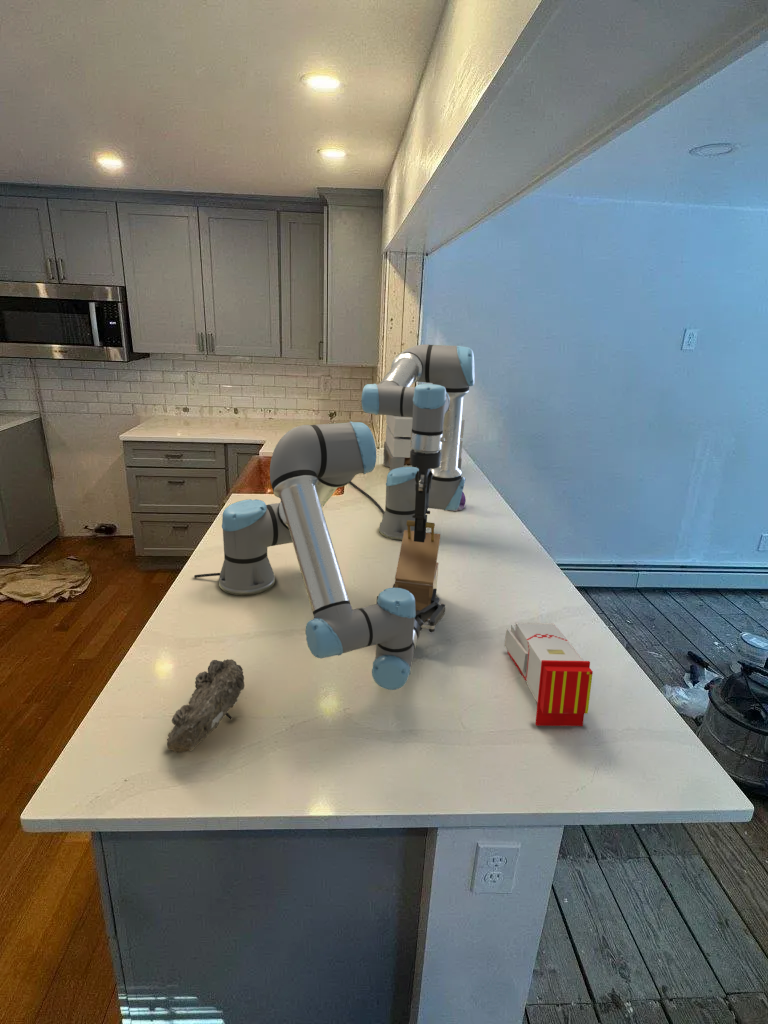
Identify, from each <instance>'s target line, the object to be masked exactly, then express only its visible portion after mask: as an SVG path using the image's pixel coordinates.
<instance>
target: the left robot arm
mask: <svg viewBox="0 0 768 1024" xmlns="http://www.w3.org/2000/svg"><path fill="white" fill-rule="evenodd" d="M376 463H377V445H376V442H375V438H374V434H373V432H372V430H371V429H370V427H369V426H368V425H367V424H366V423H364V422H361V421H360V422H359V421H349V422H338V423H321V424H320V423H319V424H302V425H298V426H294V427H293V428H290V430H288V431H286V432H285V433H284V435H282V437H281V438H280V439H279V440H278V441H277V444H275V447H274V449H273V452H272V455H271V458H270V463H269V480H270V481H269V482H270V485H271V489H272V492H273V495H274V496H275V497H277V498H279V499H280V502H278V503H277V502H276V503H268V504H266V502H265V501H263V500H261V499H243V500H239V501H235V502H233V503H231V504H229V505H228V506H227V507H226V508H225V509H224V510H223V511H222V515H221V516H222V520H221V521H222V522H221V528H222V541H223V542H222V543H223V556H224V558H223V559H224V560H223V563H222V566H221V569H220V572H212V573H203V574H202V573H199V574H194V576H193V577H194V578H204V577H217V576H218V586H219V588H220V589H221V590H222V591H223V592H224V593H227V594H230V595H235V596H252V595H257V594H260V593H265V592H266V591H268V590H269V589H271V588H272V587H273V586H274V585H275V581H276V579H275V577H276V576H275V572H274V570H273V567H272V564H271V562H270V559H269V557H268V548H269V547H275V546H281V545H287V544H292V545H293V549H294V552H295V556H296V559H297V563H298V566H299V569H300V573H301V577H302V580H303V581H302V582H303V584H304V586H305V587H304V588H305V591H306V595H307V598H308V601H309V606H310V609H311V613H312V615H313V618H312V619H310V620H308V621H307V623H306V625H305V636H306V637H305V641H306V644H307V647H308V649H309V651H310V653H311V654H312V655H313V657H315V658H317V659H326V658H330V657H335V656H338V657H339V656H342V655H343V654H346V653H349V652H353V651H356V650H360V649H363V648H367V647H371V646H375V657H374V660H373V661H372V668H371V677H372V679H373V681H374V683H375V684H376V685H378V686H379V687H380V688H382V689H385V690H388V691H395V690H399V689H401V688H403V687H404V686H405V685H406V684H407V681H408V679H409V677H410V675H411V668H412V664H413V659H414V655H415V653H416V647H417V644H418V640H419V637H420V633H421V631H423V629H427V630H428V632H430V633H434V632H435V627H436V626H437V625H438V623H439V622H440V621H441V619H443V617H444V616H445V614H446V604H445V603H441V604H440V597H437V591H438V590H437V589H434V590H433V594H432V598H431V604H430V605H428V606H427V607H425V608H423V609H422V610H420V611H419V610H417V611H416V609H415V598H414V596H413V594H412V593H410V592H409V591H407V590H405V589H402V588H395V583H393V585H392V587H387V588H385V589H383V590H382V591H380V592H379V593H378V595H377V596H376V604H371V605H367V606H363V607H359V608H354V609H353V607H352V604H351V602H350V601H351V600H350V598H349V595H348V591H347V588H346V585H345V581H344V578H343V574H342V571H341V568H340V565H339V561H338V558H337V555H336V554H337V553H336V550H335V548H334V545H333V541H332V537H331V534H330V532H329V531H330V530H329V528H328V525H327V521H326V517H325V514H324V511H323V508H324V506H325V505H326V503H327V502H328V501H329V500H330V498H332V496H333V494H334V493H335V492H336V490H337V489H338V488H342V487H345V486H347V485H348V484H350V483H349V482H350V481H351V482H352V480H353V479H354V478H355V477H356V476H357V475H360V474H363V475H366V474H369V473H372V471H374V469H375V467H376ZM429 617H430V619H428V618H429ZM426 619H428V621H427V620H426Z"/></svg>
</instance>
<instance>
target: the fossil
mask: <svg viewBox="0 0 768 1024" xmlns="http://www.w3.org/2000/svg"><path fill="white" fill-rule="evenodd" d="M243 670H244V669H243V667H242V665H240V664H237V662H236V661H235V660H234V659H232V658H231V659H227V658H226V659H224V660H223V661H222V660H217V659H212V660H211V661H210V663H209V665H208V666H207V671H201V672H199V673H198V674H197V675H196V676H195V680H194V684H195V685H194V687H195V689H194V690H193V693H192V694H191V697H190V698H189V700H188V704H184V705H182V706H181V707H180V709H177V710H176V711H175V713H174V715H173V716H172V718H171V723H172V724H173V727H172V730H171V731H170V732H168V734H167V738H166V741H167V742H166V745H167V749H168V750H169V751H173V752H174V753H176V754H178V753H182V752H188V751H189V752H192V751H193V750H195V748H196V747H197V746H199V744H200V743H201V742H203V741H204V740H205V739H206V738H207V737H208V736H209V735H210V734H211V733H212V732H214V730H215V729H217V727H218V726H219V724H220V722H221V721H222V720H223V719H224V718H225V716H226V717H227V719H229V720H233V717H232V715H230V714H229V710H230V709H231V708H234V706H235V704H236V703H237V702H238V699H239V697H240V695H241V693H242V691H243V690H245V689H244V688H245V675H244V671H243Z"/></svg>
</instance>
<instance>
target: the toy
mask: <svg viewBox="0 0 768 1024" xmlns="http://www.w3.org/2000/svg"><path fill="white" fill-rule="evenodd" d="M503 645H504V647H505V649H506V650H507V655H508V656H509V658H510V659H511V662H513V664H514V666H515V667H516V669H517V670H518V672H519V673H520V675H521V676H522V679H523V680H524V681H525V683H526V686H527V687H528V689H529V690H530V693H531V694H532V696H533V698H534V700H535V701H536V703H537V704H536V714H535V722H534V723H535V726H537V727H541V726H542V727H583V726H584V719H585V715H586V714H587V715H588V714H589V706H590V705H589V704H590V699H591V691H592V683H593V682H592V681H593V674H594V673H593V672H594V671H593V670H592V669H591V668H590V667H591V661H590V660H584V659H583V658H582V657H581V655H580V654H579V653H578V651H577V650H576V649H575V648H574V647H573V645H572V644H571V643H570V642H569V640H568V639H567V638H566V636H564V633H562V632H561V630H560V629H559V628H558V627H557V625H556V624H555V623H553V622H515V624H511V625H510V628H506V630H505V638H504V644H503Z"/></svg>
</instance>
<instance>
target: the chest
mask: <svg viewBox="0 0 768 1024" xmlns="http://www.w3.org/2000/svg"><path fill="white" fill-rule="evenodd" d="M439 563H440V562H437V563H436V570H435V577H434V583H433V585H428V584H420V583H412V582H404V581H394V584H395V588H402V589H405V590H407V591H409V592H410V593H412V594H413V596H414V598H415V609H416V611H417V610H419V611H420V610H422V609H423V608H425V607H427V606H428V605H430V604H431V598H432V594H433V590H434V589H437V588H438V576H439V575H438V574H439ZM428 619H430V617H429V618H428ZM428 619H426V620H425V621H428Z"/></svg>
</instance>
